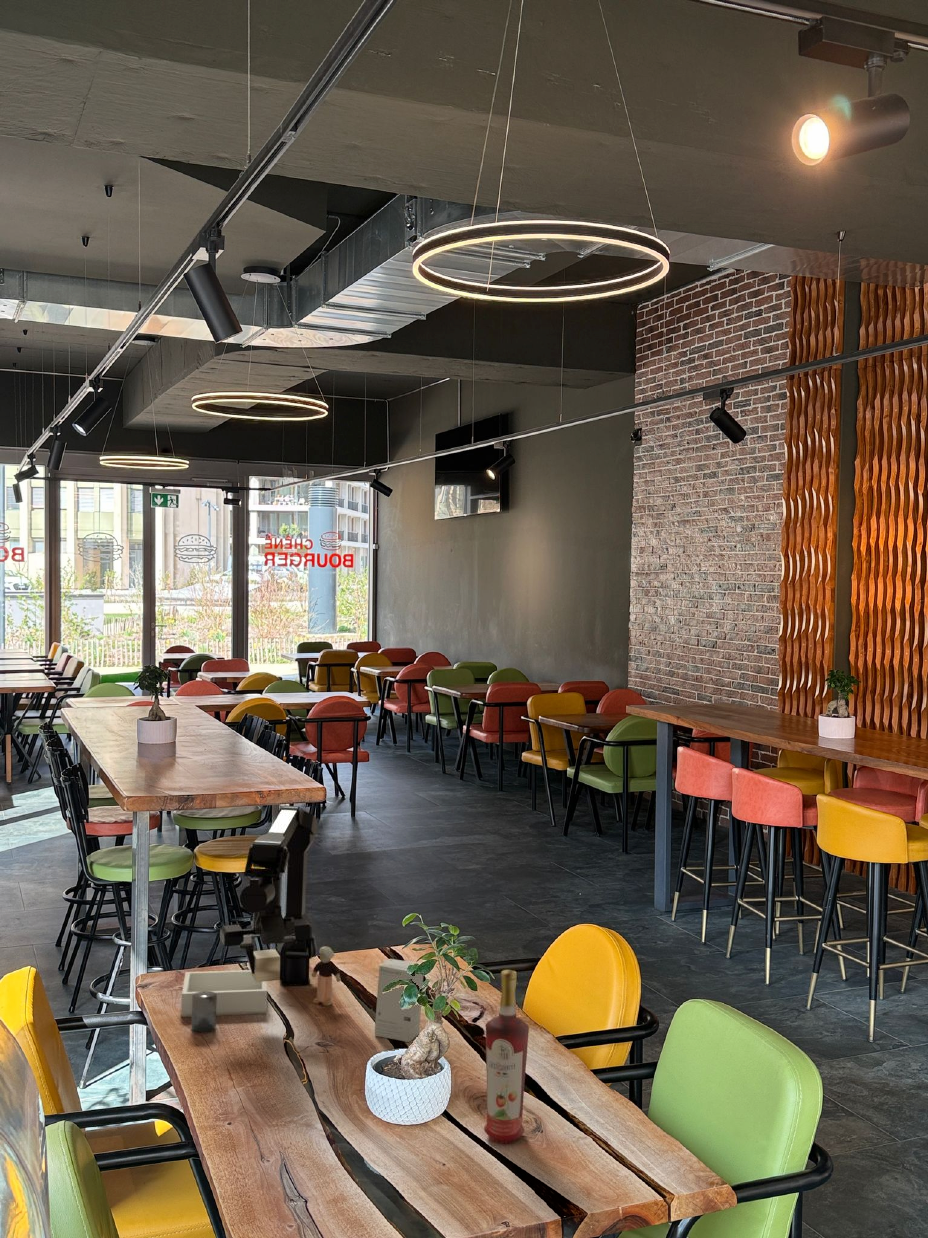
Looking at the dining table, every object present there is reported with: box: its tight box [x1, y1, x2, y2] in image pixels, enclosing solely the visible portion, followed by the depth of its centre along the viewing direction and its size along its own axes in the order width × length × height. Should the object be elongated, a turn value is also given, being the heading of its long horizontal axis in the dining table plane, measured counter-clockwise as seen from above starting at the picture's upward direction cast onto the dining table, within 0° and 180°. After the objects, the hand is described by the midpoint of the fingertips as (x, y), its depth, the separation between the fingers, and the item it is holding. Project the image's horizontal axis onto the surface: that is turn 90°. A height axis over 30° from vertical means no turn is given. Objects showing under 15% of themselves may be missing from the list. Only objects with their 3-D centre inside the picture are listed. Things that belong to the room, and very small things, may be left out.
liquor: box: [483, 969, 530, 1144], centre depth 185 cm, size 7×7×28 cm
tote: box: [180, 969, 268, 1018], centre depth 242 cm, size 18×14×5 cm
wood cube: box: [251, 948, 280, 982], centre depth 232 cm, size 5×5×5 cm
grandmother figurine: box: [311, 946, 342, 1006], centre depth 245 cm, size 8×4×13 cm, turn 73°
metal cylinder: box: [190, 991, 217, 1034], centre depth 228 cm, size 5×5×7 cm
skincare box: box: [374, 958, 424, 1043], centre depth 228 cm, size 8×6×15 cm
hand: (265, 972), depth 232 cm, fingers closed on wood cube, 5 cm apart
